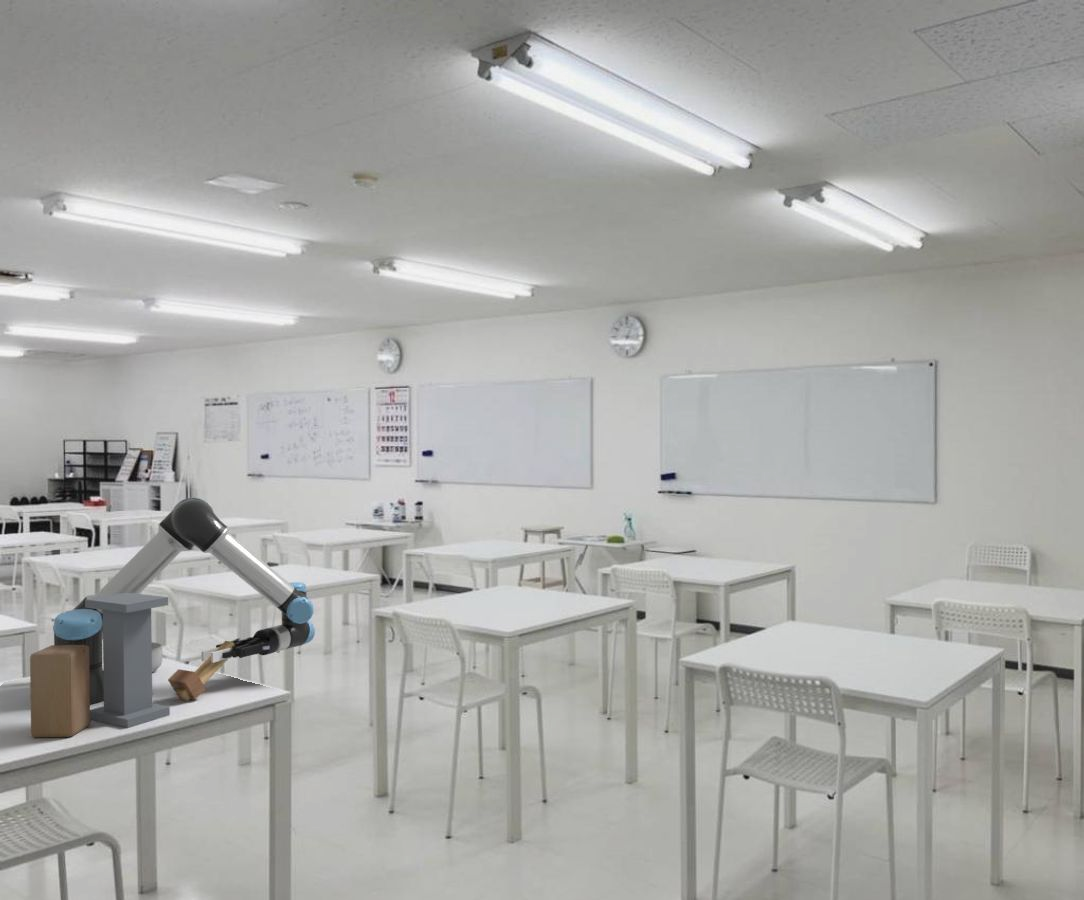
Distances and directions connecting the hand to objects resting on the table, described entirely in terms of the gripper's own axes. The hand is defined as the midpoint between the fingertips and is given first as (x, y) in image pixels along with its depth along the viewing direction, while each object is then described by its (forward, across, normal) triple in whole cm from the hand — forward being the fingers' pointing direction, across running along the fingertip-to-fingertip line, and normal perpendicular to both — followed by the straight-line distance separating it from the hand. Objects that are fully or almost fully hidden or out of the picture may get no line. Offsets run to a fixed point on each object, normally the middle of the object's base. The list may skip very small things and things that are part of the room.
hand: (207, 657), depth 254 cm
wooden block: (+40, +4, -10) cm, 42 cm away
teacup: (-7, +38, -10) cm, 40 cm away
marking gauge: (-1, 0, -5) cm, 5 cm away
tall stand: (+25, 0, -10) cm, 27 cm away
